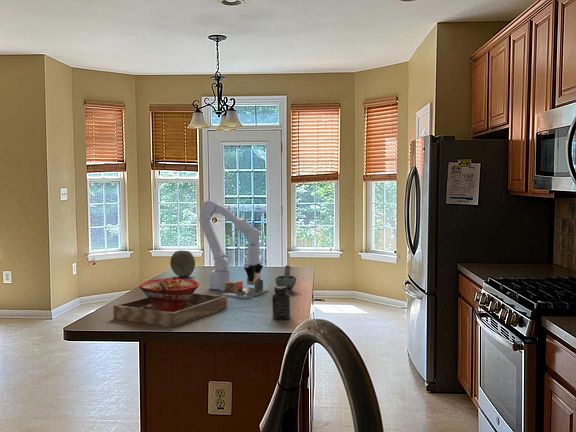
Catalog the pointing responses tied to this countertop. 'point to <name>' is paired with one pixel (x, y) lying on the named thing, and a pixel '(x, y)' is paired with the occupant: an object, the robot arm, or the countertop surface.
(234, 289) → the block
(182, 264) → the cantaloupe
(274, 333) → the countertop surface
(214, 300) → the wooden tray
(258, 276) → the block
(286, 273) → the mortar and pestle
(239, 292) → the lever
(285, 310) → the supplement bottle
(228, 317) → the countertop surface
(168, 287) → the stew
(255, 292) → the press
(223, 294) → the rail
